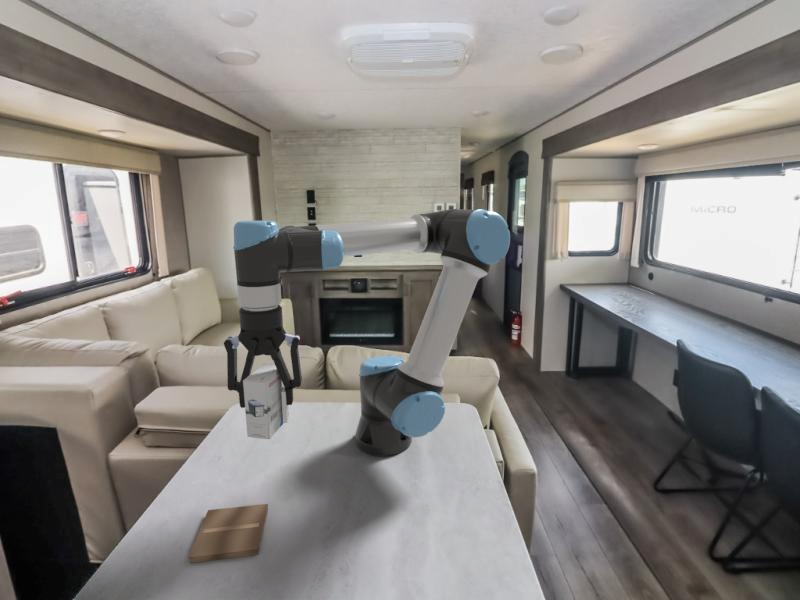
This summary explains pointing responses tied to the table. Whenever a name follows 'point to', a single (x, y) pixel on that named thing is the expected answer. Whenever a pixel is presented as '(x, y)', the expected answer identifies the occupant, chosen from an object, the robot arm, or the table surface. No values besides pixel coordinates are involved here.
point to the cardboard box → (230, 533)
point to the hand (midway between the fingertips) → (268, 420)
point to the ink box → (263, 402)
